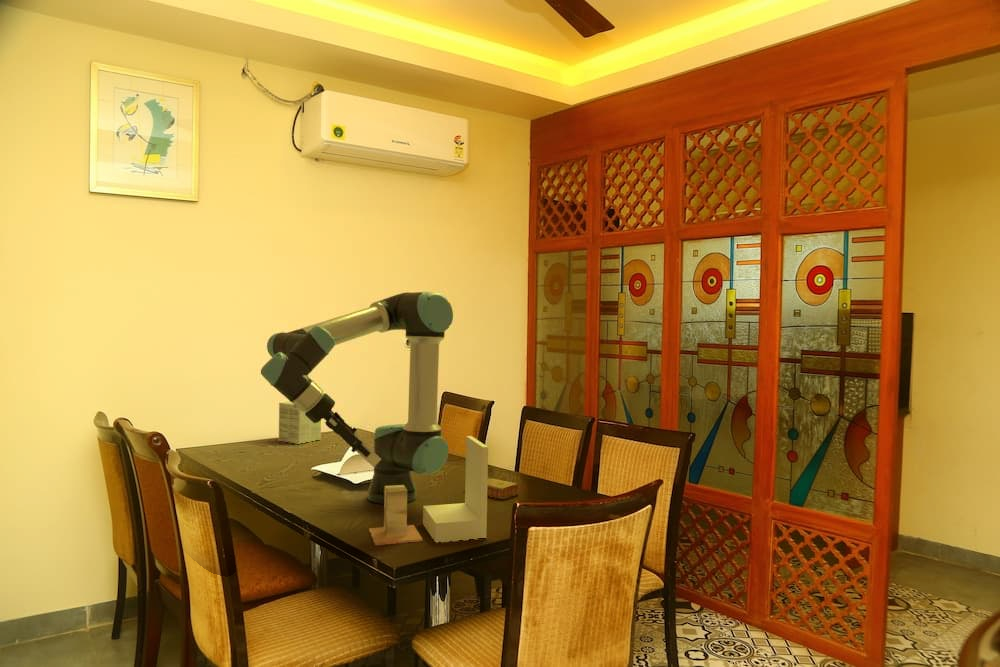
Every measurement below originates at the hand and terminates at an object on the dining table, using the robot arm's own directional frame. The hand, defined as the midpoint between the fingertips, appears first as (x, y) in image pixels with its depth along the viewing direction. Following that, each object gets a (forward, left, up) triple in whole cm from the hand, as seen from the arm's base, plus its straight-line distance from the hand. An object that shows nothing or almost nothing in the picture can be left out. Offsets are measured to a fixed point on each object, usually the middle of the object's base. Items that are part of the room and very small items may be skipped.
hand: (373, 457), depth 176 cm
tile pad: (+4, +5, -20) cm, 21 cm away
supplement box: (-134, -15, -20) cm, 137 cm away
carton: (-30, +43, -21) cm, 56 cm away
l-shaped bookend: (+4, +21, -20) cm, 30 cm away
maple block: (+4, +5, -20) cm, 21 cm away
